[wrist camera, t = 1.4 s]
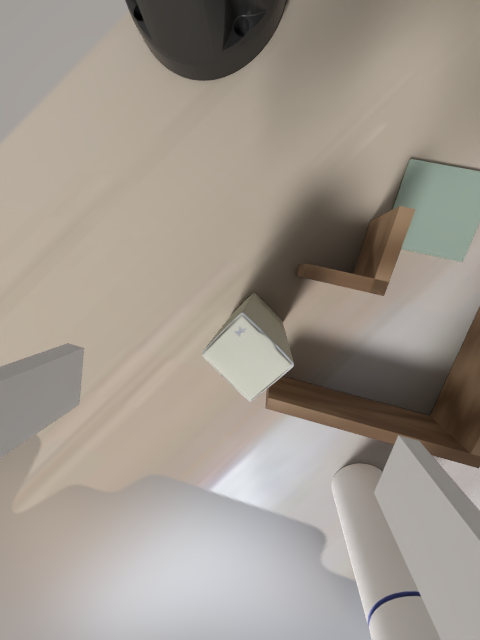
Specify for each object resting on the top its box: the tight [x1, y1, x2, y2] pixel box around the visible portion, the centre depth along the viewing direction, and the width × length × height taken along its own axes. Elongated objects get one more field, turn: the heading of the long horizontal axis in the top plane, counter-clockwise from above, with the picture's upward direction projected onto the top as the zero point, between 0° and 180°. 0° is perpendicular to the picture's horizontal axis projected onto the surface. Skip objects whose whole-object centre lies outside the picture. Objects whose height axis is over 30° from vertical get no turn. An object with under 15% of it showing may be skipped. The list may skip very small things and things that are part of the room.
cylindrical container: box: [332, 463, 441, 640], centre depth 19 cm, size 7×7×25 cm
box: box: [202, 293, 294, 401], centre depth 22 cm, size 5×4×13 cm
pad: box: [392, 159, 480, 262], centre depth 24 cm, size 8×8×1 cm
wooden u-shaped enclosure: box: [266, 206, 480, 468], centre depth 24 cm, size 20×20×6 cm
